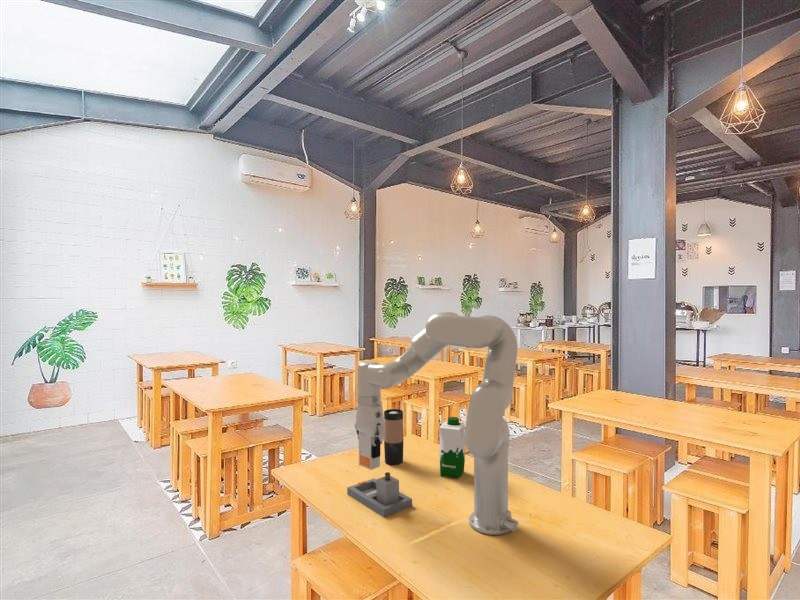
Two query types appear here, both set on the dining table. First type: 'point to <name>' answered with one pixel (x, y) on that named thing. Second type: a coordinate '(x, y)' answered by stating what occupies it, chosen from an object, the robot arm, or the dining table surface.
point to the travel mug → (393, 436)
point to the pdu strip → (368, 497)
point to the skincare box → (367, 452)
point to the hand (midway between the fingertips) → (369, 453)
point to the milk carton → (452, 448)
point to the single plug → (387, 489)
